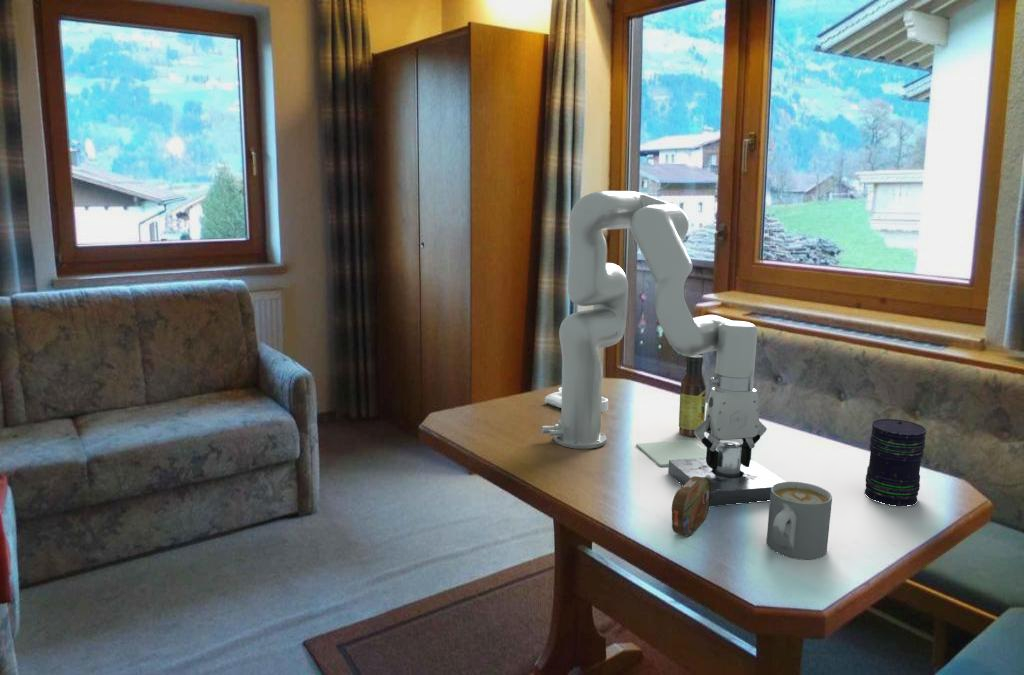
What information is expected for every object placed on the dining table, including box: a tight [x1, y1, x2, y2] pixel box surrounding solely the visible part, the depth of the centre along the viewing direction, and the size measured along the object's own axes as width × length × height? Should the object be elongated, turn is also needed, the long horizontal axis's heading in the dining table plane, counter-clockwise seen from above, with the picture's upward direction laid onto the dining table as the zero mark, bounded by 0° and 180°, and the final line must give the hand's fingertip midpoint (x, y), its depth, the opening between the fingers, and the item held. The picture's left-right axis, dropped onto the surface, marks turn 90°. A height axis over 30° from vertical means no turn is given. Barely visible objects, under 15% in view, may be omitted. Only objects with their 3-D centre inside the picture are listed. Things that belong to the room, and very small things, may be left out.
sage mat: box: [635, 439, 707, 468], centre depth 183 cm, size 14×14×1 cm
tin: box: [671, 476, 711, 537], centre depth 145 cm, size 15×3×8 cm, turn 148°
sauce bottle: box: [678, 354, 707, 437], centre depth 196 cm, size 6×6×20 cm
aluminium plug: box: [715, 440, 742, 478], centre depth 164 cm, size 5×5×9 cm
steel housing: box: [667, 457, 786, 507], centre depth 164 cm, size 18×18×3 cm
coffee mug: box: [766, 481, 833, 561], centre depth 136 cm, size 13×10×10 cm
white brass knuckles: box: [544, 386, 609, 413], centre depth 221 cm, size 3×18×15 cm
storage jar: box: [864, 418, 927, 507], centre depth 159 cm, size 10×10×15 cm
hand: (728, 465), depth 164 cm, fingers open, 6 cm apart
